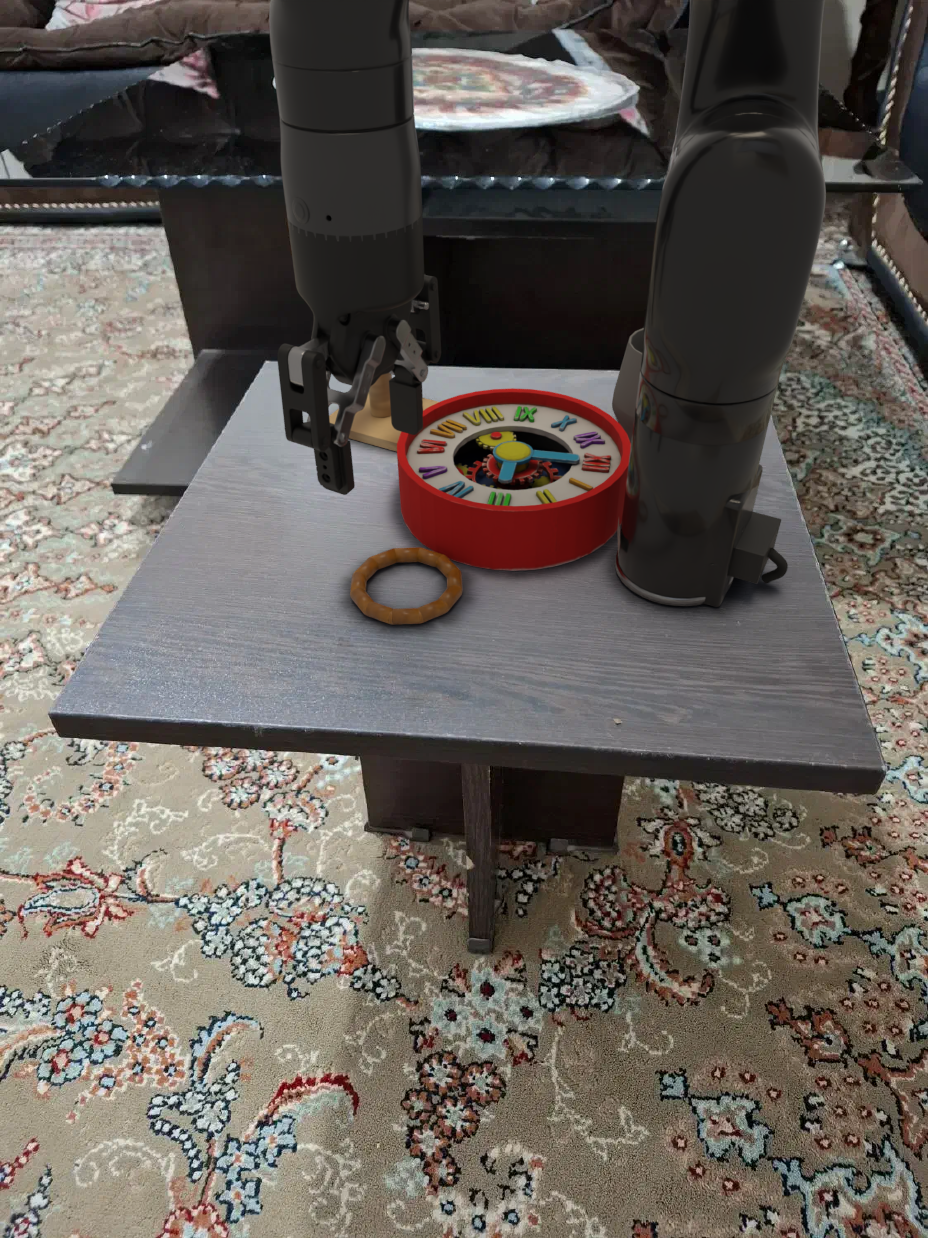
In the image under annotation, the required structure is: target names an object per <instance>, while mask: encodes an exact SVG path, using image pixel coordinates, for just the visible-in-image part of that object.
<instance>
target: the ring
mask: <svg viewBox="0 0 928 1238" xmlns="http://www.w3.org/2000/svg"><path fill="white" fill-rule="evenodd" d="M397 563H421V564H424V565H427V566H430V567H433V568H436V569H438V570H439V572H440V573H441V574H442V575H443V576H444V577H446V589H445V590H444V591H443V593H442V594H441V595H440V596H439V597H438V598H437V599H436V600H434V601H430V602H428V603H425V604H423V605H421V606H419V607H406V608H404V607H403V608H393V607H390V606H387V605H384V604H381V603H379V602H375V600H373V598H372V597H371V596H370V595H369V593H368V592H367V581H368V580H369V579H370V578H371V577H373V575H374V574H375V573H376V572H377V571H379V570H381V569H384V568H387V567H389V566H392V565H394V564H397ZM349 592H350V593H349V596H350V599H351V600H352V601H353V603H354V604H355V605H356V606H357V607H358V608H359V610H360V611H361V612H362V613H363V615H364V616H366V617H369V618H371V619H375V620H377V621H380V622H383V623H386V624H388V625H421V624H423V623H424V624H425V623H426V622H428V621H430V620H433V619H435V618H438V617H440V616H443V615H446V613H447V614H448V612H449V611H451V609H452V607H454V605H455V604H456V603H457V601H458V600H459V599H460V597H461V596H462V595H463V574H462V571H461V569H460V568H459V567H458V566H457V565H456V564H455V563H454V562H453V560H451V559H449V558H448V557H447V556H445V555H443V554H440V553H437V552H434V551H433V550H431V549H429V548H428V549H427V548H425V547H419V546H418V547H414V546H413V547H393V548H390V549H388V550H385V551H382V552H379V553H377V554H373V555H371V556H369V557H367V559H366V560H364V561H363V563H362V564H361V565H359V567H358V568H357V569H356V570H355V571H353V573H352V574H351V581H350V589H349Z"/></svg>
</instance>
